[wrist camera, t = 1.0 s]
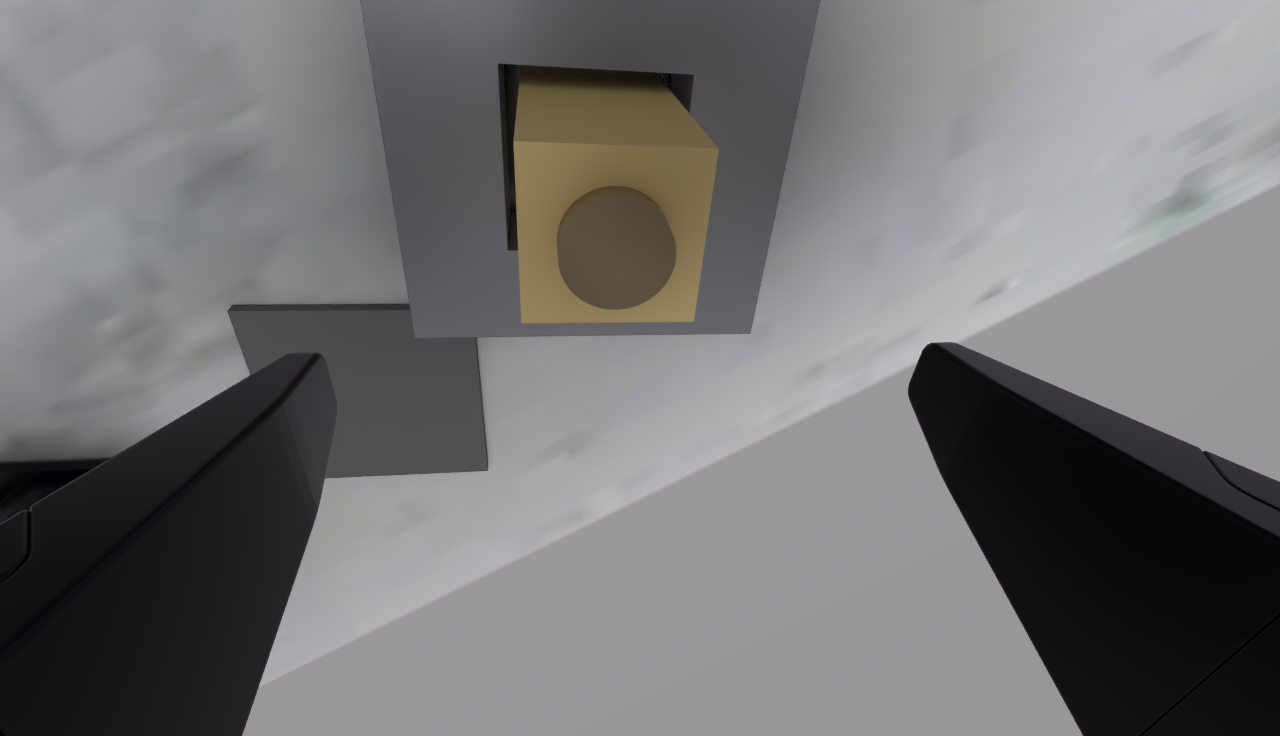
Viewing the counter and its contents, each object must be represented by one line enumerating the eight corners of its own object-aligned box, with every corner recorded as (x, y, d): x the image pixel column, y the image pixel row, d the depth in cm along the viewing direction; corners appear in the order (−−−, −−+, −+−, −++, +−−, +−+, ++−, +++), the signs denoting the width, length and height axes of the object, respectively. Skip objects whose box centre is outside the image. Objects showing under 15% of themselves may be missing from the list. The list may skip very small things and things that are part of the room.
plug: (525, 197, 20) (520, 342, 13) (521, 64, 18) (512, 153, 11) (644, 200, 21) (701, 340, 14) (655, 72, 19) (729, 160, 12)
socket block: (428, 292, 22) (415, 337, 19) (373, -97, 15) (344, -101, 13) (727, 291, 23) (750, 333, 21) (789, -58, 17) (831, -55, 15)
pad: (291, 472, 26) (288, 479, 25) (231, 305, 21) (227, 311, 21) (488, 464, 27) (487, 470, 26) (472, 304, 22) (472, 310, 22)
